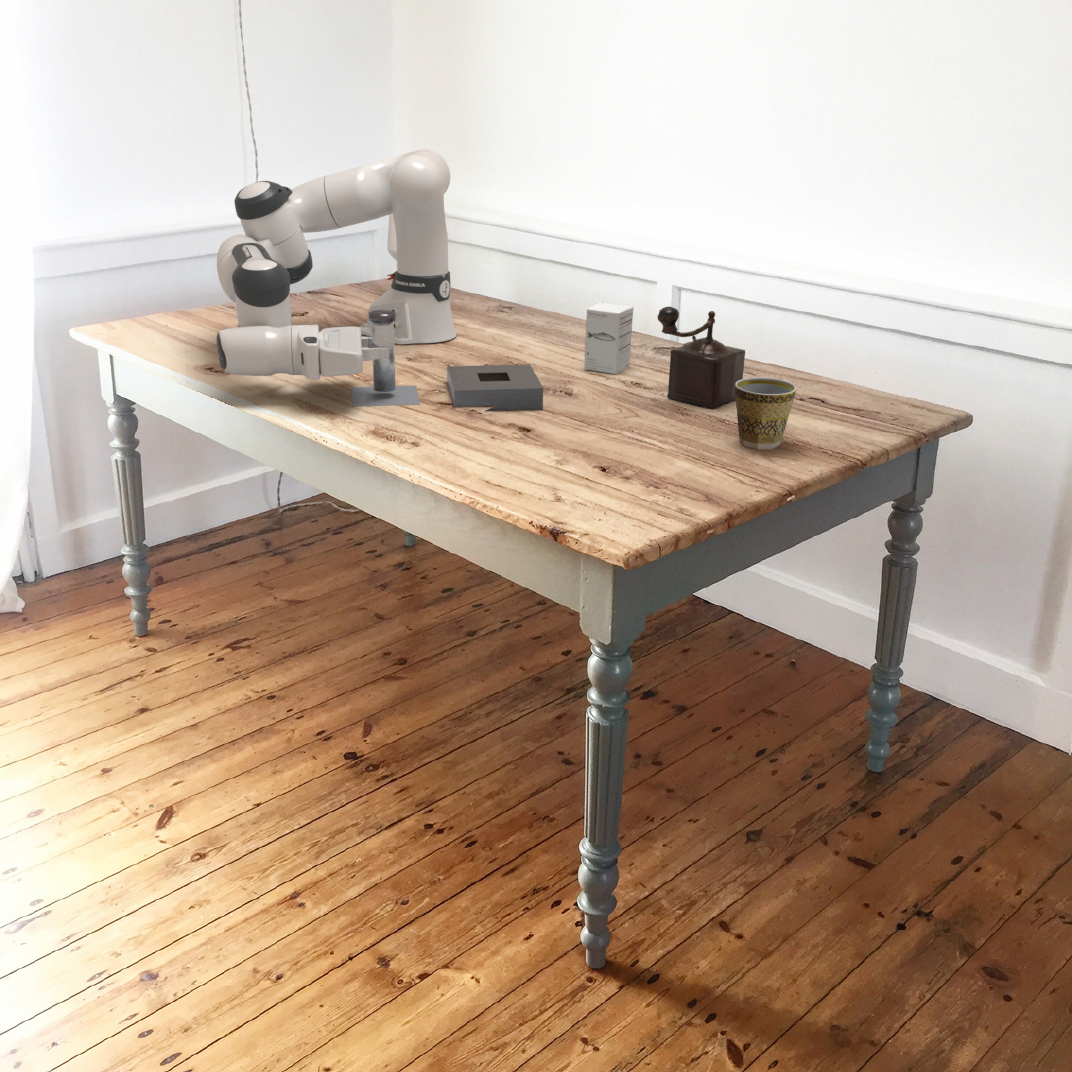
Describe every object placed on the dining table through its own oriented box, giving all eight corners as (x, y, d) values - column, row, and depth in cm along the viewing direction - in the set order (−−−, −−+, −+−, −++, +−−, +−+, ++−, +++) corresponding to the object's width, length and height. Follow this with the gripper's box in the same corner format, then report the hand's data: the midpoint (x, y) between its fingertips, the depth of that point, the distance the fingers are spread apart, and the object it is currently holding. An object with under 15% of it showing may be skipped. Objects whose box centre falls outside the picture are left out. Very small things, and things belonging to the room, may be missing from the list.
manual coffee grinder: (693, 386, 223) (700, 293, 216) (742, 397, 217) (751, 303, 210) (647, 403, 212) (653, 306, 205) (698, 416, 206) (705, 316, 199)
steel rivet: (365, 389, 209) (362, 313, 204) (382, 383, 213) (380, 308, 207) (386, 394, 207) (384, 317, 201) (403, 388, 211) (401, 312, 205)
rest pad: (352, 411, 205) (352, 406, 204) (352, 392, 215) (351, 387, 215) (420, 409, 206) (420, 404, 206) (416, 390, 217) (416, 385, 217)
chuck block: (454, 412, 206) (454, 390, 204) (447, 386, 220) (446, 366, 218) (542, 409, 208) (543, 388, 206) (529, 384, 222) (530, 364, 221)
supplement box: (582, 370, 232) (585, 308, 227) (598, 362, 238) (600, 301, 233) (616, 375, 229) (619, 312, 224) (631, 367, 235) (634, 305, 230)
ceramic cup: (797, 452, 189) (804, 394, 185) (738, 453, 188) (743, 395, 184) (774, 427, 201) (780, 372, 197) (718, 428, 200) (723, 372, 196)
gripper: (312, 352, 216) (386, 350, 218) (309, 383, 197) (390, 381, 199) (310, 318, 213) (385, 317, 215) (307, 346, 195) (389, 345, 197)
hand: (388, 348), depth 207 cm, fingers closed on steel rivet, 4 cm apart
